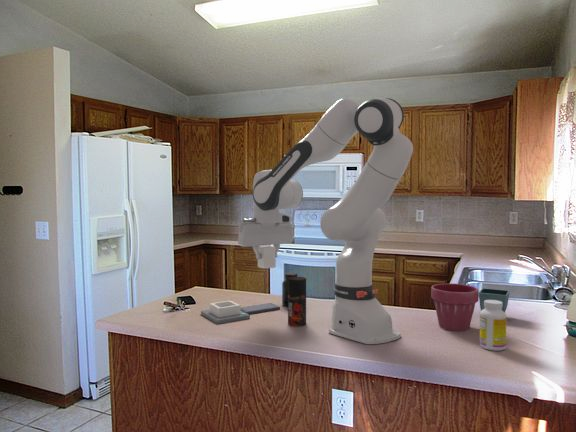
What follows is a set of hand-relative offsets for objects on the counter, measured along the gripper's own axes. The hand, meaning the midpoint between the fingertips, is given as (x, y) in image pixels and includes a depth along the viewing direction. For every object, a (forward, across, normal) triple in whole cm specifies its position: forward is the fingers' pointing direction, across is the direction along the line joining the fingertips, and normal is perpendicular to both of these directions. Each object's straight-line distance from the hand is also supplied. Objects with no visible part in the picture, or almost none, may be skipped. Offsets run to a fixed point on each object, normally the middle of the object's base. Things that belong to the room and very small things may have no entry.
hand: (266, 258), depth 156 cm
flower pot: (+21, +65, -43) cm, 81 cm away
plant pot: (+21, +44, -42) cm, 65 cm away
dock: (+20, -12, +8) cm, 25 cm away
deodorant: (+21, +4, -13) cm, 25 cm away
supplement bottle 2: (+22, +37, -60) cm, 74 cm away
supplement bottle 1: (+20, +16, +10) cm, 28 cm away
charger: (+3, 0, 0) cm, 3 cm away
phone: (+20, +2, +9) cm, 22 cm away
